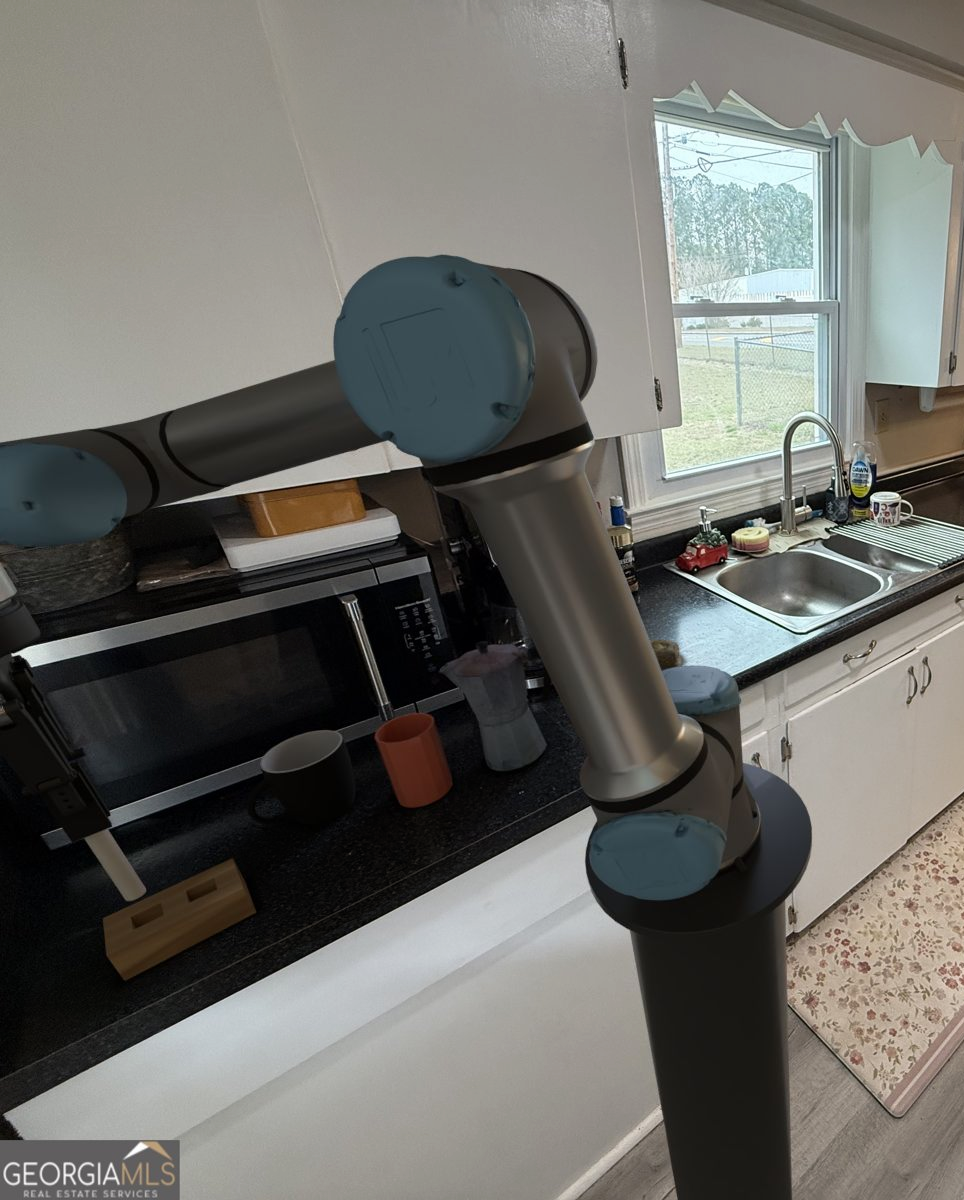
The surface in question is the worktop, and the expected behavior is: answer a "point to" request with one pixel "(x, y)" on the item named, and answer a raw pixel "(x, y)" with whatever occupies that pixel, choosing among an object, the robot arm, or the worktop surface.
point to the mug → (307, 778)
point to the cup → (414, 759)
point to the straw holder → (176, 919)
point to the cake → (667, 654)
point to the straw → (116, 865)
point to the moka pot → (501, 702)
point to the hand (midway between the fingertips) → (91, 826)
